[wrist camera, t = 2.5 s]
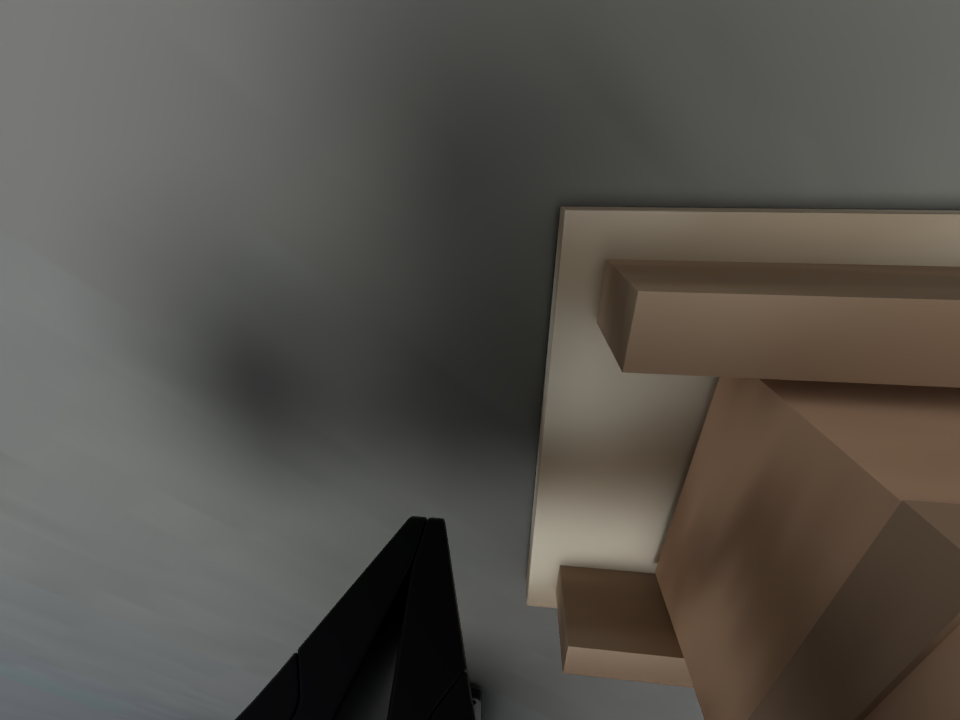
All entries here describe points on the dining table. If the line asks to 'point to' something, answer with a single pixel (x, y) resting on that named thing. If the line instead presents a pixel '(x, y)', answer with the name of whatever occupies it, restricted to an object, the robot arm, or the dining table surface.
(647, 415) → the bay
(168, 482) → the dining table surface
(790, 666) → the crate
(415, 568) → the robot arm
